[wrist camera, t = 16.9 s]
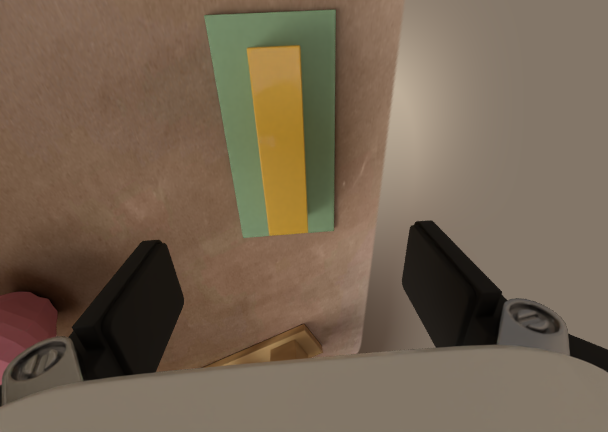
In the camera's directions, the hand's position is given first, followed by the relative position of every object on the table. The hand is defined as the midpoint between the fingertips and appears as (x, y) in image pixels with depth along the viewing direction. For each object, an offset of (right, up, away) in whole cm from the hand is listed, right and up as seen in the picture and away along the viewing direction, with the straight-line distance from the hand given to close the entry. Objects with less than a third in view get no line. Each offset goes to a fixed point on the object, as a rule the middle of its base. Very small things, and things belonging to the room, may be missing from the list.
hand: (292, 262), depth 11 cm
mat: (-1, +8, +13) cm, 15 cm away
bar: (-1, +8, +13) cm, 15 cm away
